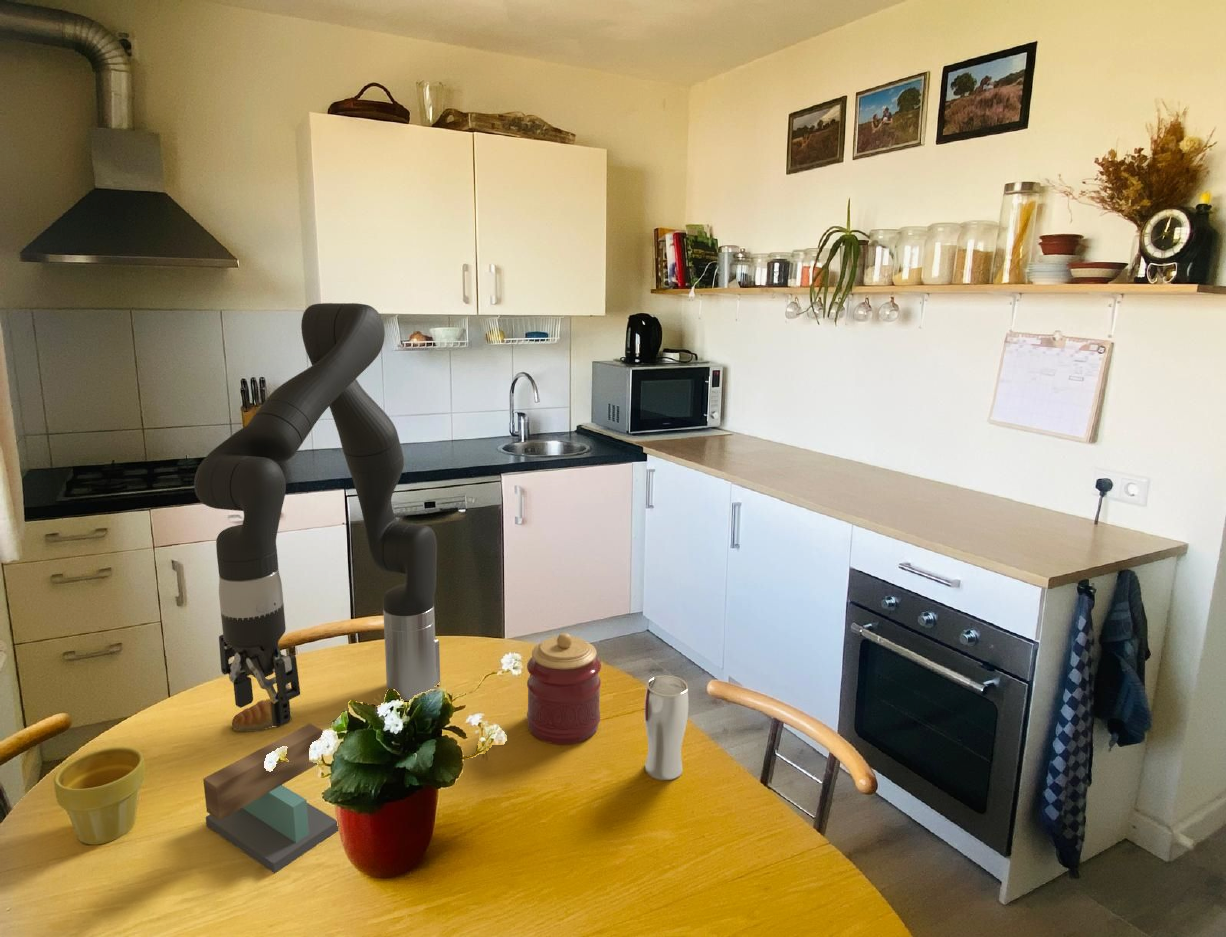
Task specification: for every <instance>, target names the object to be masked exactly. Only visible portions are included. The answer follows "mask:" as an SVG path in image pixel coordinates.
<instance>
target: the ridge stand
mask: <svg viewBox="0 0 1226 937" xmlns="http://www.w3.org/2000/svg"><path fill="white" fill-rule="evenodd" d="M336 820H337V819H335V818H334V817H332V816H330V815H329V814H327V813H325V812H323V811H322V810H320V809H319V808H317V807H315V806H314V805H312V804H310V803H308V802H307V798H305V797H303V796H302V795H300V794H298V793H296V792H295V791H293V790H291V789H290V788H288V787H286V786H284V784H282V785H281V786H279V787H277V788H275V789H274V790H272V791H270V792H269V793H267V794H265V795H263V796H262V797H260V798H258V799H256V800H255V801H253V802H251V803H249V804H248V805H246V806H244V807H242V808H241V809H239V810H237V811H235V812H234V813H232V814H230V815H228V816H227V817H225V818H223V819H221V820H218V819H217V818H215V817H214V816H212V815H211V814H208V815H206V816H205V825H206V827H208V828H209V829H210V830H211V831H213V832H215V833H216V834H217V835H219V836H220V837H221V838H223V839H225V840H226V841H227V842H228V843H230V844H231V845H233V846H235V847H236V848H237V849H239V850H240V851H241V852H243V853H245V854H246V855H247V856H249V857H250V858H252V859H253V860H255V861H256V862H257V863H259V864H260V865H262V866H263V867H264V868H266V869H268V870H269V871H270V872H271V873H273V874H276V873H278V872H279V871H280V870H282V869H283V868H285V867H287V866H288V865H290V864H291V863H293V861H295V860H297V859H298V858H300V857H301V856H302V855H305V854H306V853H308V852H309V851H310V850H312V849H314V848H315V847H316V846H317V845H319V844H321V843H323V841H325V840H327V839H328V838H329V837H332V836H333V835H334V834H336V833H337V832H338V831H339V830H338V827H339V825H338V826H337V821H338V820H337V821H336Z"/></svg>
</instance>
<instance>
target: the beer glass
mask: <svg viewBox="0 0 1226 937" xmlns="http://www.w3.org/2000/svg"><path fill="white" fill-rule="evenodd" d="M688 716H689V686H688V684H687V682H686V681H685V680H684V679H682V678H680V677H678V676H675V675H664V674H663V675H657V676H654V677H653V676H652V677H651V678H650V679H648V680H647V682H646V690H645V698H644V725H645V731H646V738H647V744H648V746H647V747H648V750H647V757H646V760H645V764H644V769H645V772H646V773H647V775H648V776H650V777H652V778H654V779H656V780H659V781H672V780H675V779H677V778H678V777H680V776H681V775H682V773H683V763H682V746H683V741H684V737H685V734H686V728H687V723H688Z"/></svg>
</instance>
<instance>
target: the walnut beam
mask: <svg viewBox="0 0 1226 937" xmlns="http://www.w3.org/2000/svg"><path fill="white" fill-rule="evenodd" d="M322 733H323V734H324V730H323V729H321V728H320V727H318V726H316V725H314V724H312V723H308V724H306V725H304V726H302V727H300V728H298V729H296V730H294V731H292V732H290V733H288V734H287V735H284V736H283V737H281V738H279V739H277V740H275V741H272V742H271V743H269V744H267V745H265V746H263V747H261V748H259V749H257V750H255V751H253V752H252V753H249V754H248V755H246V756H244V757H242V758H241V759H238V760H237V761H235V762H231V763H230V764H228V765H226V766H225V767H223V768H221V769H219V770H216V771H214V772H213V773H211V774H209V775H207V776H205V777H204V778H202V780H203V790H204V798H205V809H206V813H208V815H210V814H211V815H212V816H214V817H215V818H217V819H218V820H221V819H223V818H225V817H227V816H228V815H230V814H232V813H234V812H235V811H237V810H239V809H241V808H242V807H244V806H246V805H248V804H249V803H251V802H253V801H255V800H256V799H258V798H260V797H262V796H263V795H265V794H267V793H269V792H270V791H272V790H274V789H275V788H277V787H279V786H281V785H285V784H286V783H288V782H289V781H291V780H293V779H294V778H296V777H298V776H300V775H301V774H303V773H305V772H307V771H308V770H310V769H312V768H314V767H316V766H317V765H318V764H317V763H313V762H309V748H310V745H311V744H312V742H314V741H316V740H318V739H319V738H320V737H321V735H322ZM282 746H287V747H288V748H287V754H286V758H287V759H288V760H289V762H286V761H283V762H279V763H278V764H276V767H275V768H274V769H273V771H271V772H269V771H266V769H265V768H264V761H265V758H266V755H267V754H269V753H271V752H272V751H275V750H276V749H277V748H280V747H282Z"/></svg>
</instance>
